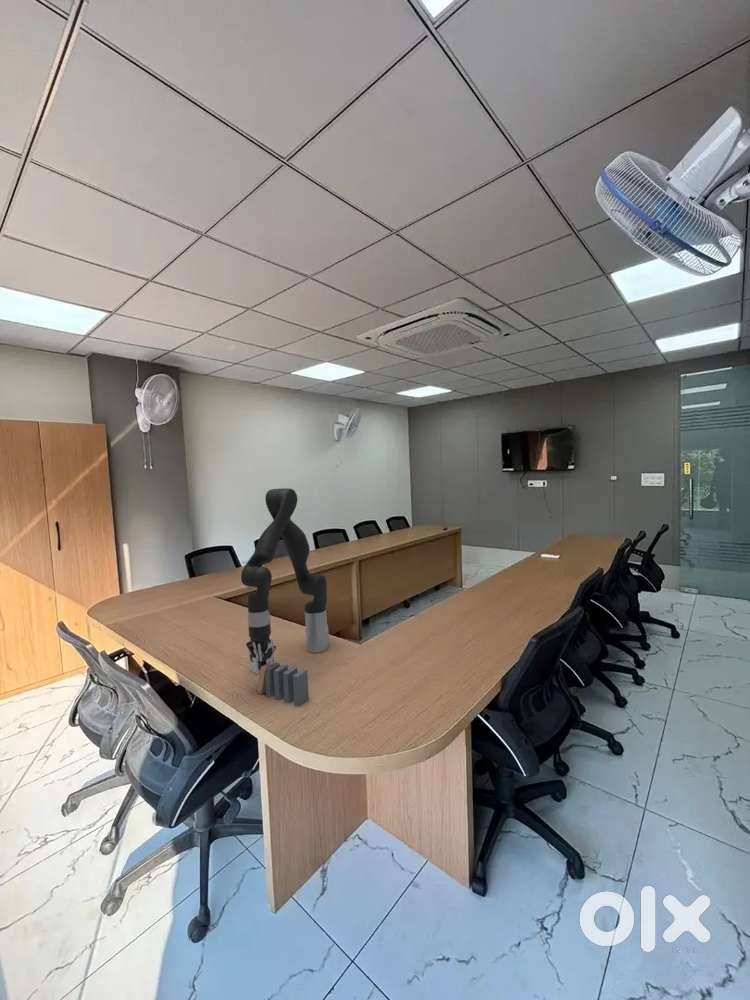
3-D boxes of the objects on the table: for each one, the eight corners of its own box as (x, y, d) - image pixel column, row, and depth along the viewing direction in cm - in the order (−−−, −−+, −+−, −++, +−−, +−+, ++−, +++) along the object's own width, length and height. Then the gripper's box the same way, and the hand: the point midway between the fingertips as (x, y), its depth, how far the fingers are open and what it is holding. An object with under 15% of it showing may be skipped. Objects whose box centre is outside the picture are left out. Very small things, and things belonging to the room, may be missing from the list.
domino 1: (271, 687, 148) (275, 663, 146) (260, 694, 143) (265, 669, 141) (267, 685, 149) (271, 661, 147) (256, 691, 144) (260, 667, 142)
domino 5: (294, 704, 136) (292, 675, 135) (304, 697, 140) (302, 669, 140) (299, 706, 135) (297, 677, 134) (308, 698, 139) (307, 670, 139)
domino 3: (275, 698, 140) (273, 670, 140) (285, 691, 145) (283, 664, 144) (279, 700, 139) (277, 671, 139) (289, 693, 144) (287, 665, 143)
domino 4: (284, 701, 138) (282, 673, 137) (294, 694, 142) (292, 666, 142) (289, 703, 137) (287, 674, 136) (298, 695, 141) (297, 667, 141)
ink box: (267, 662, 168) (265, 634, 167) (275, 665, 165) (273, 637, 164) (249, 671, 161) (247, 642, 161) (256, 674, 158) (255, 645, 157)
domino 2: (266, 695, 142) (265, 668, 141) (276, 688, 147) (275, 662, 146) (270, 697, 141) (269, 669, 140) (280, 690, 146) (279, 663, 145)
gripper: (280, 621, 144) (283, 669, 146) (254, 616, 151) (257, 661, 152) (265, 628, 138) (268, 678, 139) (238, 623, 145) (241, 670, 146)
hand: (262, 669), depth 146 cm, fingers closed
